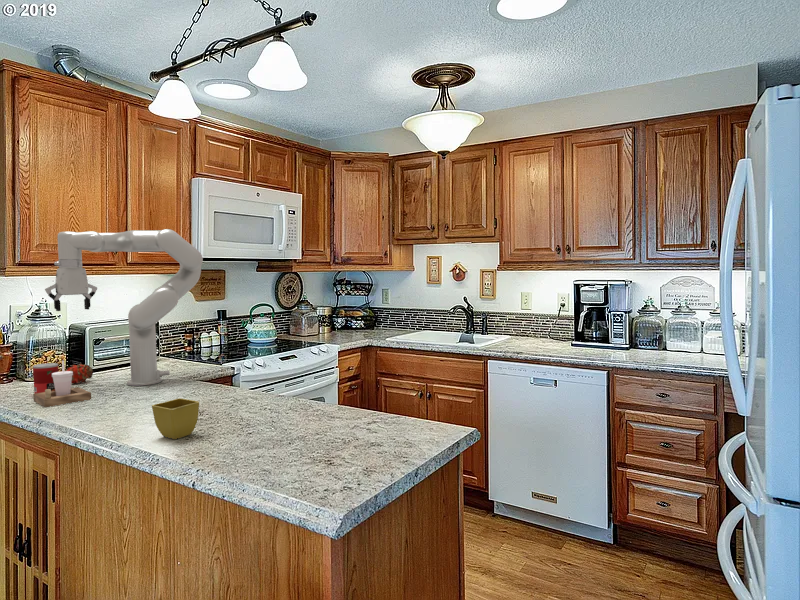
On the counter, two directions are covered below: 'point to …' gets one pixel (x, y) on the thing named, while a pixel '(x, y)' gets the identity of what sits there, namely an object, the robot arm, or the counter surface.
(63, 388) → the smoothie
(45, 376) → the canned food
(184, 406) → the flower pot
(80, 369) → the dragon fruit
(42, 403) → the wooden tray
